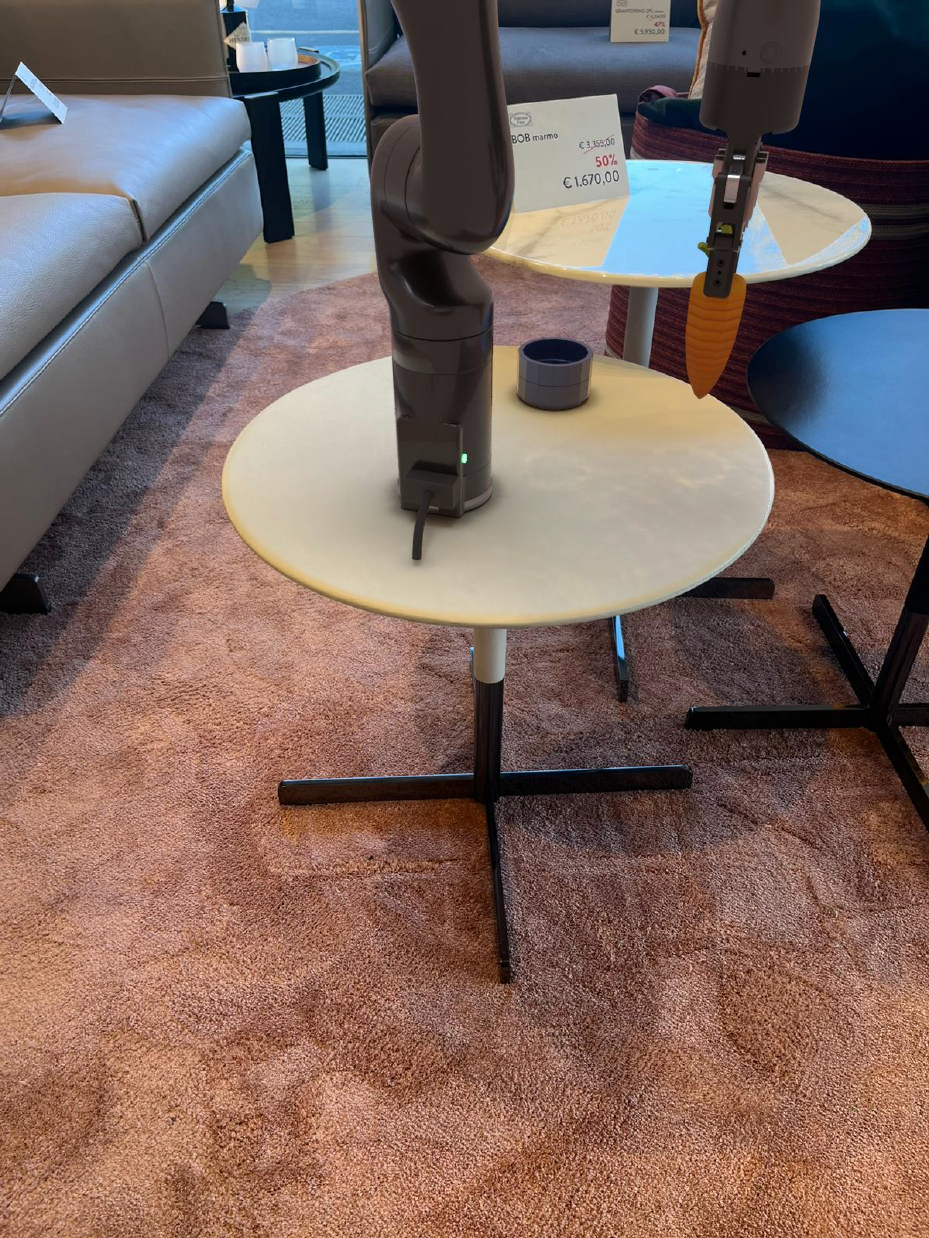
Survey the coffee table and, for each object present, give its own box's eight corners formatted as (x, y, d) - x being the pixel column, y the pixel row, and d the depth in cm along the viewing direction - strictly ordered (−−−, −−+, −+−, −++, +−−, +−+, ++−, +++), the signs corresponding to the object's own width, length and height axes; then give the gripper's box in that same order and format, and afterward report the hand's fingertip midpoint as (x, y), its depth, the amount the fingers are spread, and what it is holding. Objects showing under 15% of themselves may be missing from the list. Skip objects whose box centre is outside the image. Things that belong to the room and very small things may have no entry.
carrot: (712, 414, 83) (744, 241, 74) (663, 400, 85) (688, 230, 76) (735, 396, 86) (769, 228, 77) (687, 383, 89) (714, 218, 79)
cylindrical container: (580, 415, 106) (584, 370, 102) (508, 405, 108) (509, 360, 105) (595, 385, 112) (599, 341, 109) (527, 376, 114) (529, 333, 111)
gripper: (718, 43, 75) (686, 258, 86) (696, 66, 65) (663, 309, 75) (814, 47, 74) (769, 266, 84) (808, 72, 63) (757, 320, 73)
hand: (719, 285), depth 79 cm, fingers closed on carrot, 4 cm apart
